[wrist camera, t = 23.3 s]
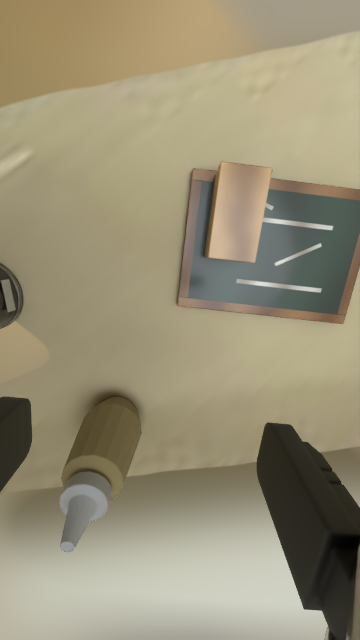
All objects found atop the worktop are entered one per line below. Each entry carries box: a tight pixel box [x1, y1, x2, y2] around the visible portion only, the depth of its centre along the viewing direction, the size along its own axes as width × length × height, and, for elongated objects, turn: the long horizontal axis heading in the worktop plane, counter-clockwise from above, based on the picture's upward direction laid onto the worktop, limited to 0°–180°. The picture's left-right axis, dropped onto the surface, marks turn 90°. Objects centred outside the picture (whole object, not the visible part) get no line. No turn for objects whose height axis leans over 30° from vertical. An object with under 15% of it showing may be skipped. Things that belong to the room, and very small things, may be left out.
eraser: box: [204, 162, 272, 263], centre depth 28 cm, size 5×9×5 cm, turn 174°
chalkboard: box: [178, 168, 360, 324], centre depth 32 cm, size 22×16×1 cm
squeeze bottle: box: [59, 397, 142, 552], centre depth 30 cm, size 8×8×18 cm
